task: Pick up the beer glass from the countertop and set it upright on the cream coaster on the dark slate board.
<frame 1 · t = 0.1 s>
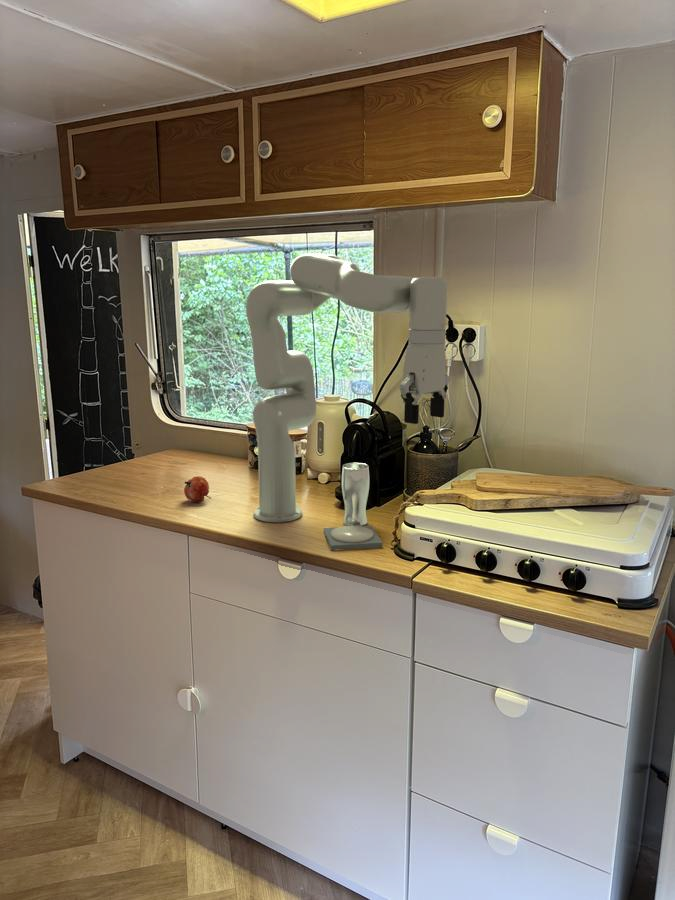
hand: (424, 419, 149), 31 cm above the worktop, tool pointing down, fingers open, 9 cm apart
pomegranate: (198, 501, 196), on the worktop
coaster board: (352, 539, 166), on the worktop
beer glass: (355, 523, 179), on the worktop
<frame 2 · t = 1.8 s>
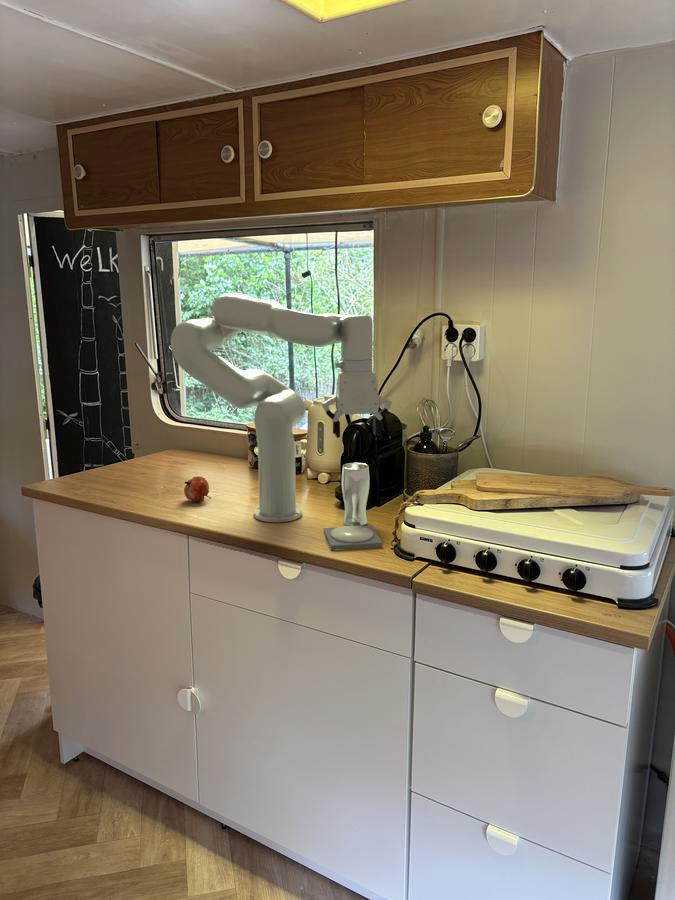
hand: (356, 435, 173), 23 cm above the worktop, tool pointing down, fingers open, 9 cm apart
nothing on the worktop moved.
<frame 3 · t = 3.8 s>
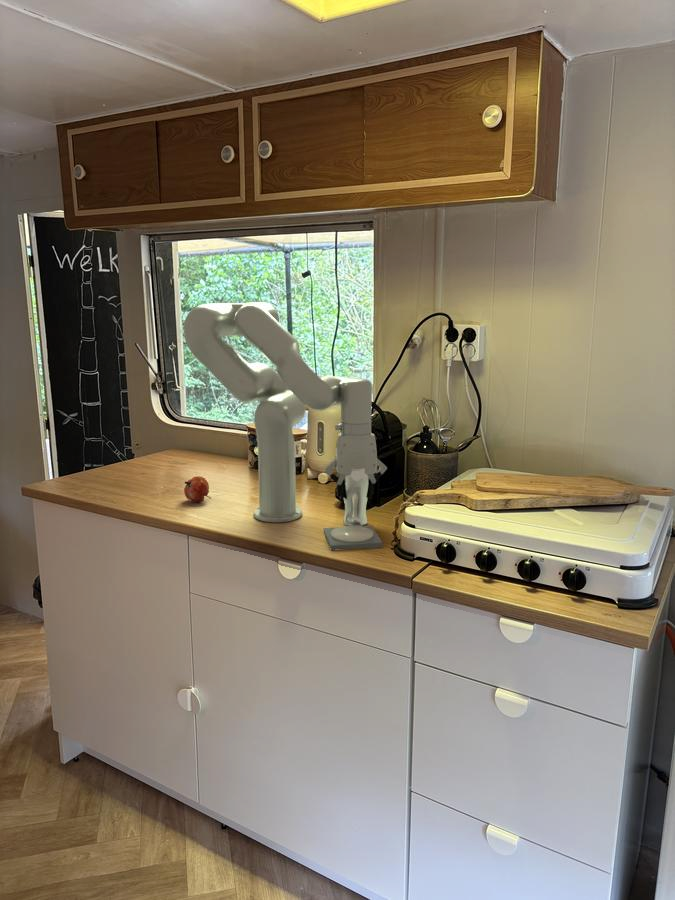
hand: (355, 497, 177), 7 cm above the worktop, tool pointing down, fingers closed on beer glass, 6 cm apart
beer glass: (355, 523, 179), on the worktop, touching gripper
everything else where it was.
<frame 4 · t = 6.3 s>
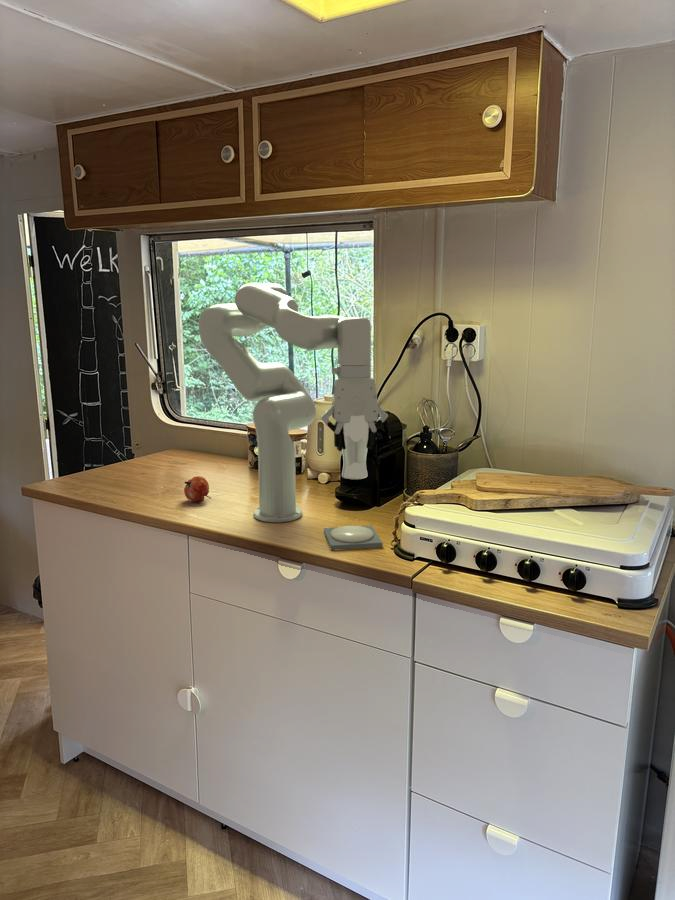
hand: (354, 448, 163), 22 cm above the worktop, tool pointing down, fingers closed on beer glass, 6 cm apart
beer glass: (354, 476, 165), point 15 cm above the worktop, touching gripper
everything else where it was.
when the fingers open (10 cm above the worktop, at t = 9.3 s): beer glass stays where it is, resting on coaster board.
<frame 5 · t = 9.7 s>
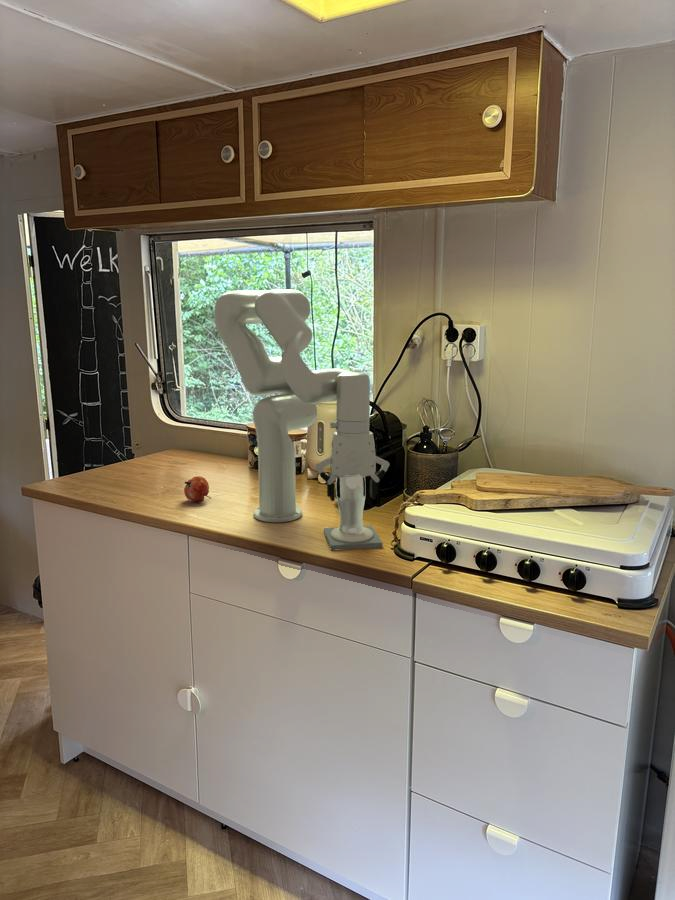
hand: (352, 498, 164), 10 cm above the worktop, tool pointing down, fingers open, 9 cm apart
beer glass: (351, 532, 166), point 2 cm above the worktop, touching coaster board
everything else where it was.
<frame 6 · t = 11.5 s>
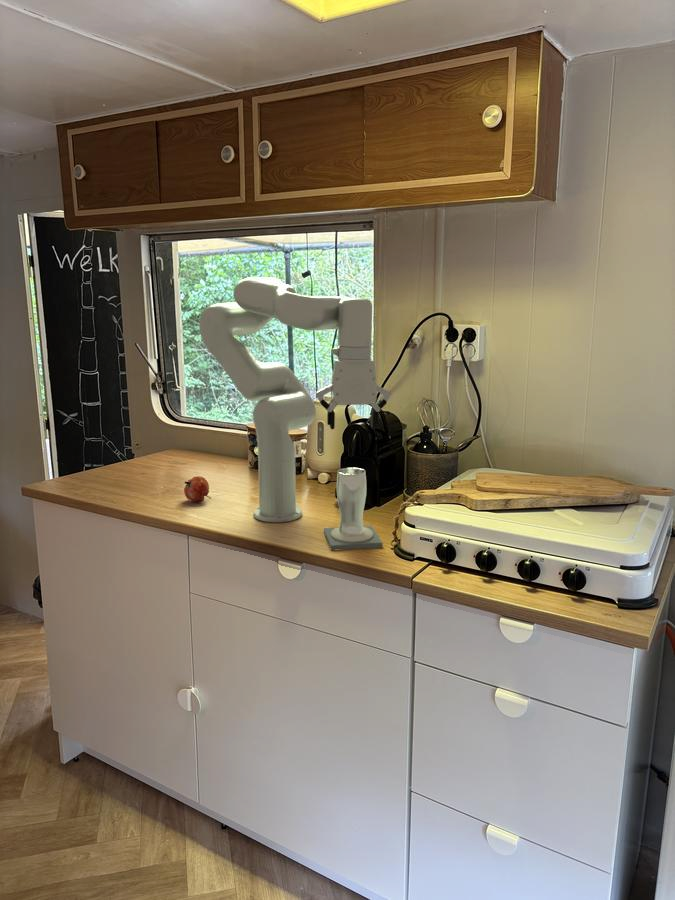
hand: (352, 427, 163), 27 cm above the worktop, tool pointing down, fingers open, 9 cm apart
nothing on the worktop moved.
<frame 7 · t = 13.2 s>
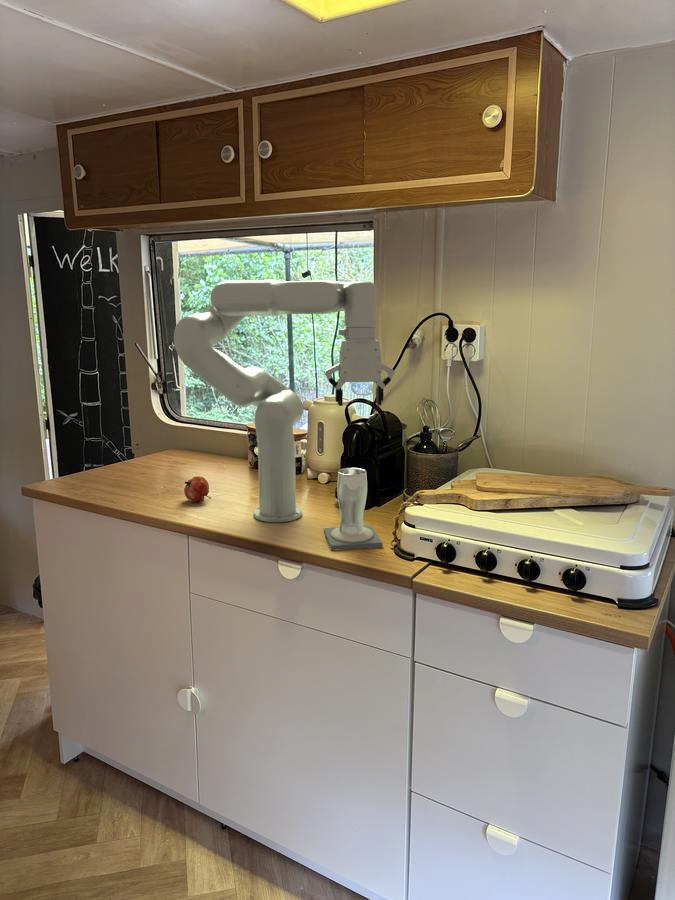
hand: (359, 404, 173), 30 cm above the worktop, tool pointing down, fingers open, 9 cm apart
nothing on the worktop moved.
at the end: beer glass 0.2 cm off-centre on the coaster board, point 1.6 cm above the coaster board's base; beer glass tilted 1°; the gripper is holding nothing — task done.
